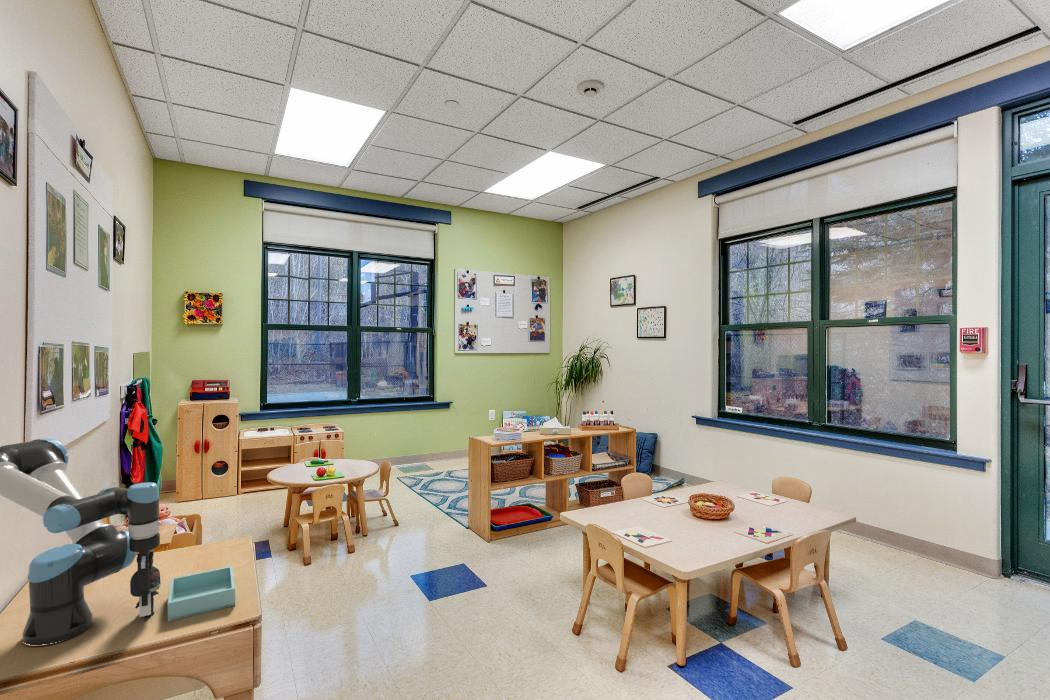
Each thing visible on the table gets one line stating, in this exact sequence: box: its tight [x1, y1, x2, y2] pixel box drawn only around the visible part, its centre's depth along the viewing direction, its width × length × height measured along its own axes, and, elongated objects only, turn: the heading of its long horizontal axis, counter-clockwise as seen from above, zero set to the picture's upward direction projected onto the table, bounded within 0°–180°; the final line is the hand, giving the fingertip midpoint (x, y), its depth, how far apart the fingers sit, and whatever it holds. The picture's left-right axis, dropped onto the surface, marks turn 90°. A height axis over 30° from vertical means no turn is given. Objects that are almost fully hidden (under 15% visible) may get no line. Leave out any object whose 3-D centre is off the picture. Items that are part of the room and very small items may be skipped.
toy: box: [129, 566, 162, 619], centre depth 160 cm, size 9×8×15 cm
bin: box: [167, 565, 236, 622], centre depth 169 cm, size 18×19×6 cm
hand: (146, 608), depth 160 cm, fingers closed on toy, 7 cm apart
